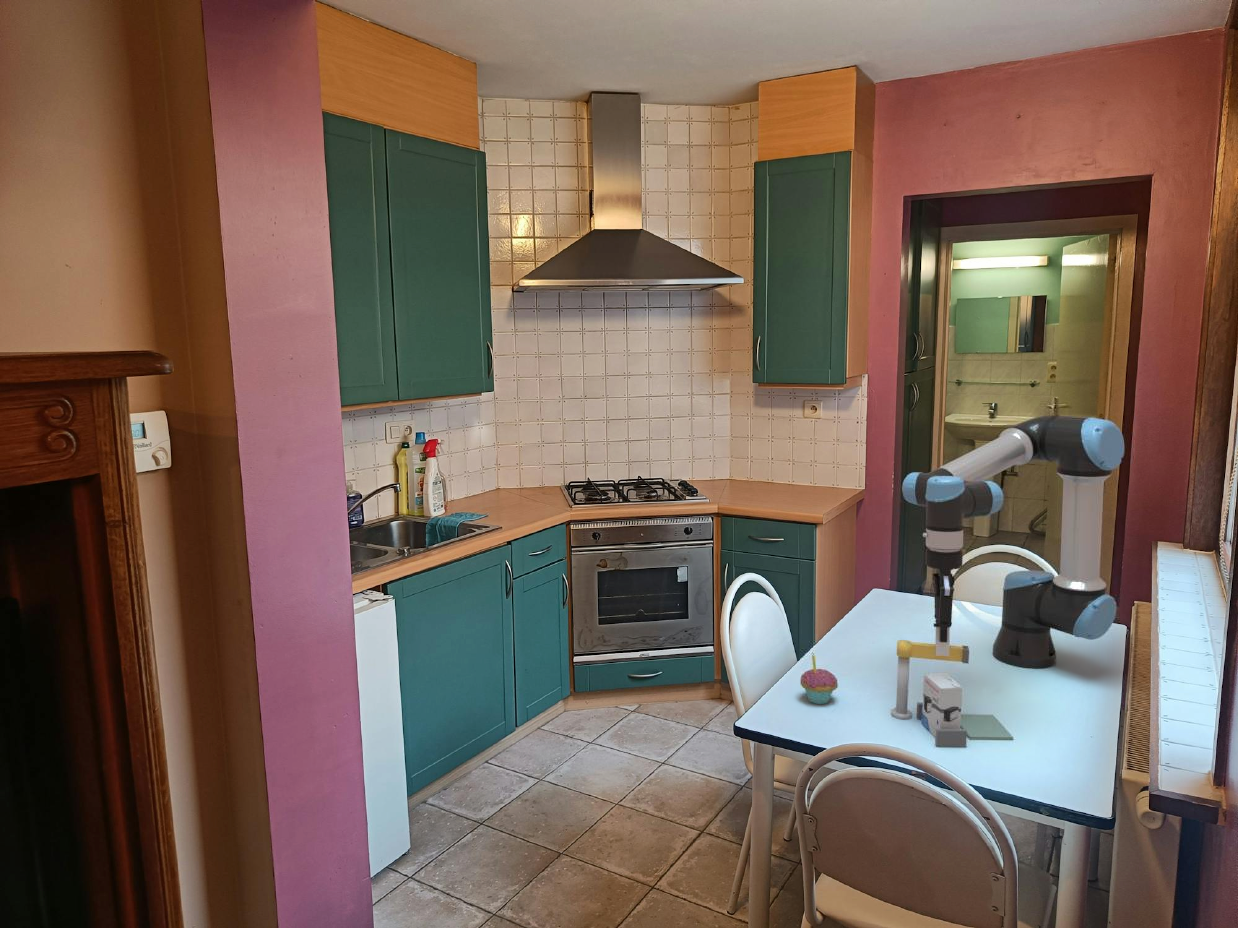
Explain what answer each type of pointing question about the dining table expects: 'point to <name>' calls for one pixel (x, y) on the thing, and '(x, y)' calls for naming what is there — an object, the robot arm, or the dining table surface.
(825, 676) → the cupcake
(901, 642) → the yellow long bar
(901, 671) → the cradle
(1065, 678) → the dining table surface
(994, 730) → the mat
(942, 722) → the ink box
